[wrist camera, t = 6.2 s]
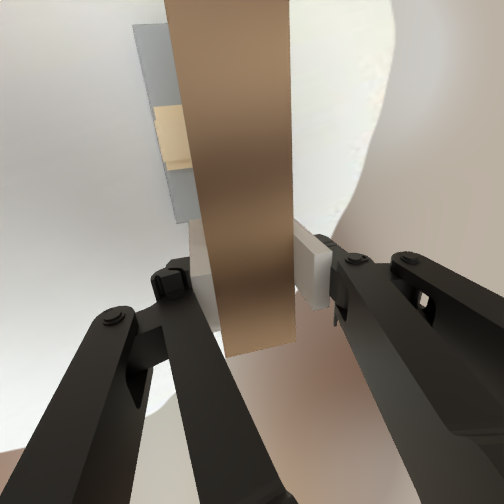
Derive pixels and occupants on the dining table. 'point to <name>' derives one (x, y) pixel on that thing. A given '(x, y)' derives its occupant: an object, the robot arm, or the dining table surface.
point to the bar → (241, 158)
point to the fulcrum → (168, 117)
